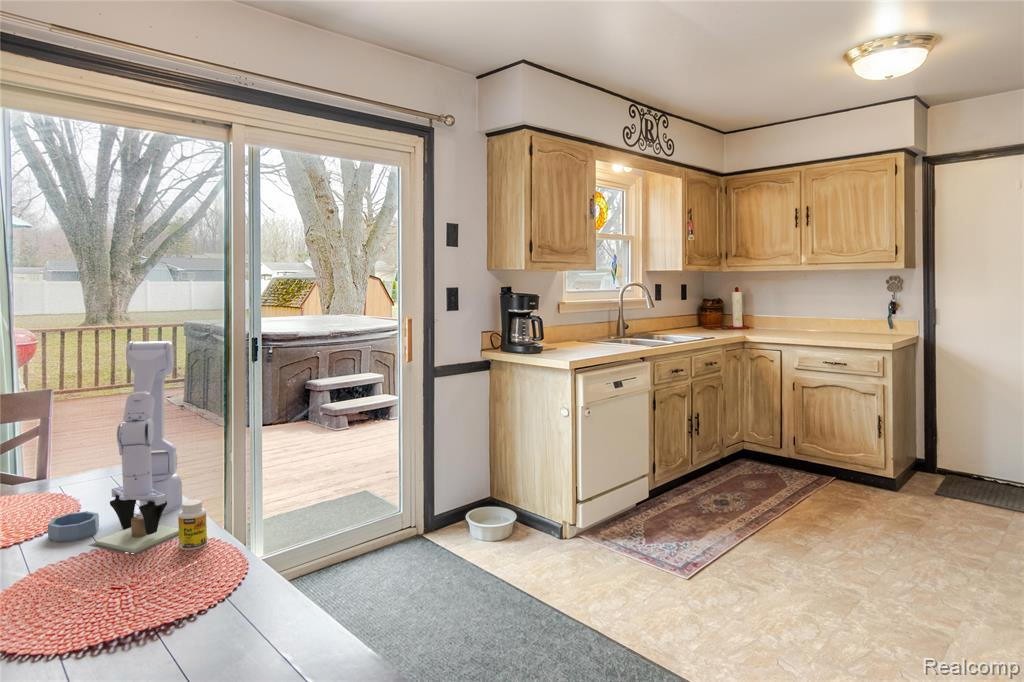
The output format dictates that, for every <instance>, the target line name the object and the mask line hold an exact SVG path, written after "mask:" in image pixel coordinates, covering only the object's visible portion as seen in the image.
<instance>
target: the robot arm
mask: <svg viewBox="0 0 1024 682" xmlns="http://www.w3.org/2000/svg"><path fill="white" fill-rule="evenodd" d="M174 351H175V349H174V344H173V343H172V342H171V341H170V340H166V341H129V342H128V343H127V345H126V348H125V359H126V364H127V365H128V366H129V369H130V370H131V371H132V373H133V389H132V390H133V391H132V393H131V394H129V395H128V396H127V397H126V401H125V406H124V413H123V419H122V423H119V424H118V426H117V429H116V442H117V446H118V453H119V456H121V472H122V473H121V475H122V486H120V485H119V486H116V487H114V488H111V498H114V499H113V500H110V501H109V505H110V507H112V509H113V510H114V512H115V514H116V515H117V518H118V520H119V523H120V525H121V528H122V530H126V529H128V528H131V518H133V517H135V515H136V516H141V515H143V518H144V522H145V530H146V534H147V535H150V534H153V533H155V532H157V528H158V524H159V523H160V520H161V517H162V515H165V514H167V513H169V512H173V511H176V510H178V509H180V508H181V509H182V503H183V484H182V479H181V478H180V476H179V475H178V473H177V470H178V457H177V456H178V455H177V447H176V446H175V444H173V443H172V442H170V441H169V440H166V438H165V381H166V377H167V376H168V375H170V374H172V373H174V368H175V365H174V364H175V352H174ZM152 451H153V452H152ZM155 451H156V452H155ZM137 501H138V503H139V504H138V505H139V507H138V509H137V510H135V507H136V503H137ZM159 525H160V524H159Z"/></svg>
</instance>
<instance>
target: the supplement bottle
mask: <svg viewBox="0 0 1024 682" xmlns="http://www.w3.org/2000/svg"><path fill="white" fill-rule="evenodd" d="M177 517H178V518H177V519H178V520H177V521H178V529H179V536H178V546H179V548H180V550H184V551H191V550H192V551H193V550H197V549H200V548H202V547H204V546H206V545H207V543H208V536H207V535H208V534H207V531H208V530H207V528H208V527H207V509H205V508H204V507H203V501H202V500H201V499H196V498H195V499H189V500H185V501H182V507H181V511H179V512H178V515H177Z"/></svg>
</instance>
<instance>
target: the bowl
mask: <svg viewBox="0 0 1024 682" xmlns="http://www.w3.org/2000/svg"><path fill="white" fill-rule="evenodd" d="M99 518H100V517H99V513H97V512H92V511H88V510H87V511H86V510H85V511H79V512H77V511H76V512H69V513H66V514H64V515H59V516H57V517H53V518H52V519H51V520H50V521H49V522H48V524H47V535H48V537H47V538H48V539H50V540H51V541H52V542H56V543H68V542H74V541H80V540H83V539H86V538H89V537H92V536H93V535H95V534H96V533H97V532H98V529H99V527H100V521H99Z"/></svg>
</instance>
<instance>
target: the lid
mask: <svg viewBox="0 0 1024 682" xmlns="http://www.w3.org/2000/svg"><path fill="white" fill-rule="evenodd" d="M177 534H179V527H178V528H177V527H172V526H168V525H163V524H158V528H157V532H155V533H153V534H150V535H147V534H146V530H145V522H144V518H143V515H136V516H134V517H133V518H131V528H128V529H126V530H123V529H122V530H120V531H117V532H115V533H112V534H110V535H107V536H105V537H102V538H100V539H97V540H95V543H96V544H97V545H102V546H106V547H110V548H115V549H119V550H124V551H128V552H132V553H136V552H138V551H141V550H143V549H145V548H147V547H150V546H152V545H154V544H157V543H159V542H161V541H163V540H166V539H168V538H170V537H173V536H175V535H177Z"/></svg>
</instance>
